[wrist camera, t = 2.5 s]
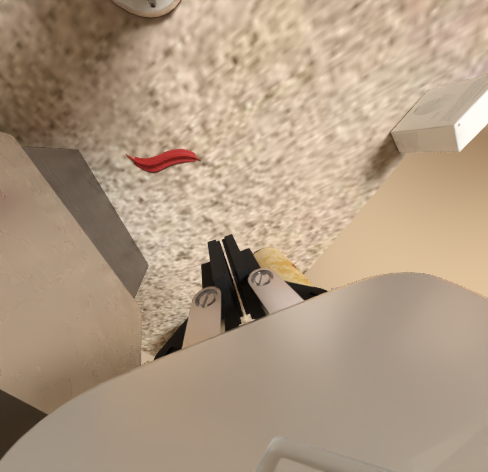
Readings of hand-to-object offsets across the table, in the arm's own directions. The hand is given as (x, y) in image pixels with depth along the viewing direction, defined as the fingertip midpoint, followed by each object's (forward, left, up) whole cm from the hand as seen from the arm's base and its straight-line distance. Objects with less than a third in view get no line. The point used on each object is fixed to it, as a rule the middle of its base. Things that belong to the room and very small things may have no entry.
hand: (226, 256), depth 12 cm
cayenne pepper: (-7, -5, -25) cm, 26 cm away
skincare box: (-2, +47, -24) cm, 53 cm away
